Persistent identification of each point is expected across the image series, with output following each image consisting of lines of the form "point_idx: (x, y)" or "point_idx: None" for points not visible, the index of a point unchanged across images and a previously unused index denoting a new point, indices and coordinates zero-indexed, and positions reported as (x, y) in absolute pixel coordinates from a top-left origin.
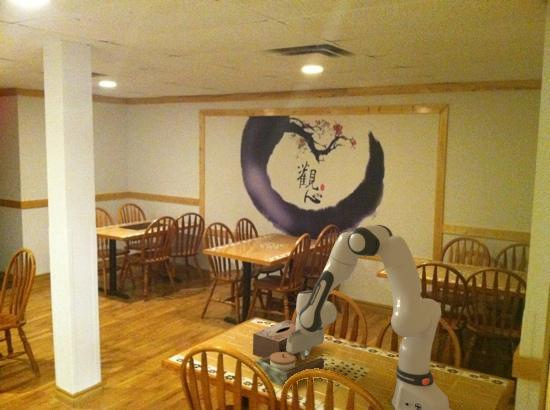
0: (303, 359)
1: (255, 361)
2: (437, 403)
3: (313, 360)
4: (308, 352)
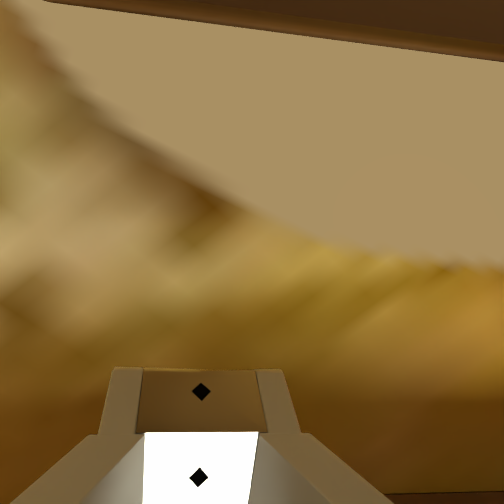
0: (279, 376)
1: None
2: None
3: (391, 18)
4: (102, 485)
